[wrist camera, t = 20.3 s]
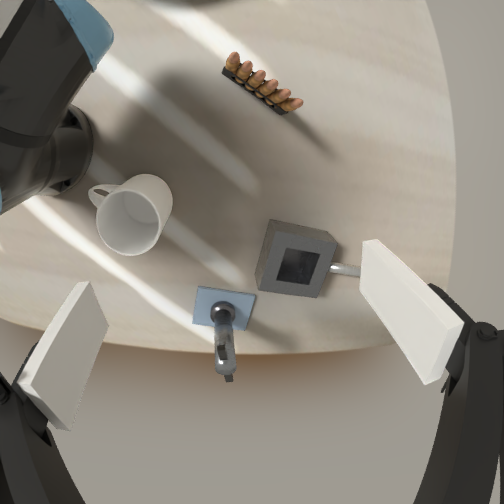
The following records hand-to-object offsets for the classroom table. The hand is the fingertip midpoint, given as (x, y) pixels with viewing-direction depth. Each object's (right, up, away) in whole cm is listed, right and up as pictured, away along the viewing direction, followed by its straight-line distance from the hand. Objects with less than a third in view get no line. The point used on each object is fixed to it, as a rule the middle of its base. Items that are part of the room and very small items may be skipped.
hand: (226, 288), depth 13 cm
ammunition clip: (+2, +25, +24) cm, 35 cm away
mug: (-16, +10, +29) cm, 35 cm away
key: (-4, -9, +38) cm, 40 cm away
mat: (-4, -9, +39) cm, 40 cm away
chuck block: (+14, 0, +37) cm, 39 cm away
